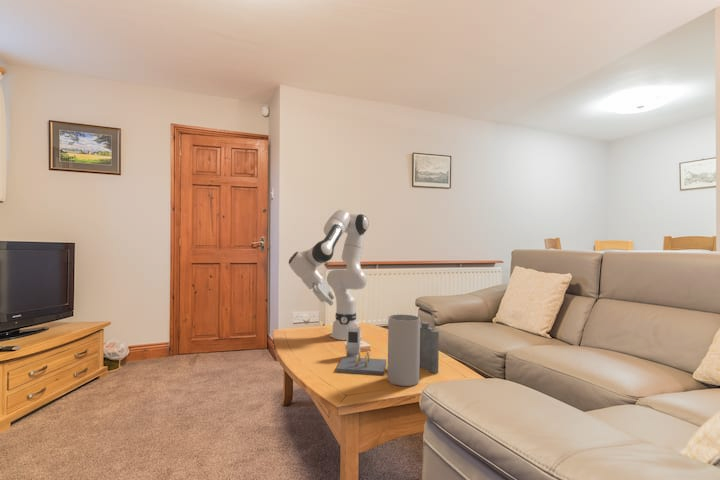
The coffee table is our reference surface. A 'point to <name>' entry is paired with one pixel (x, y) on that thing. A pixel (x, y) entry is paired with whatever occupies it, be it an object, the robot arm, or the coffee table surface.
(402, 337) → the cylinder vase
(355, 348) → the drive
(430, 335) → the hip flask
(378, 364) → the pin tray
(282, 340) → the coffee table surface
